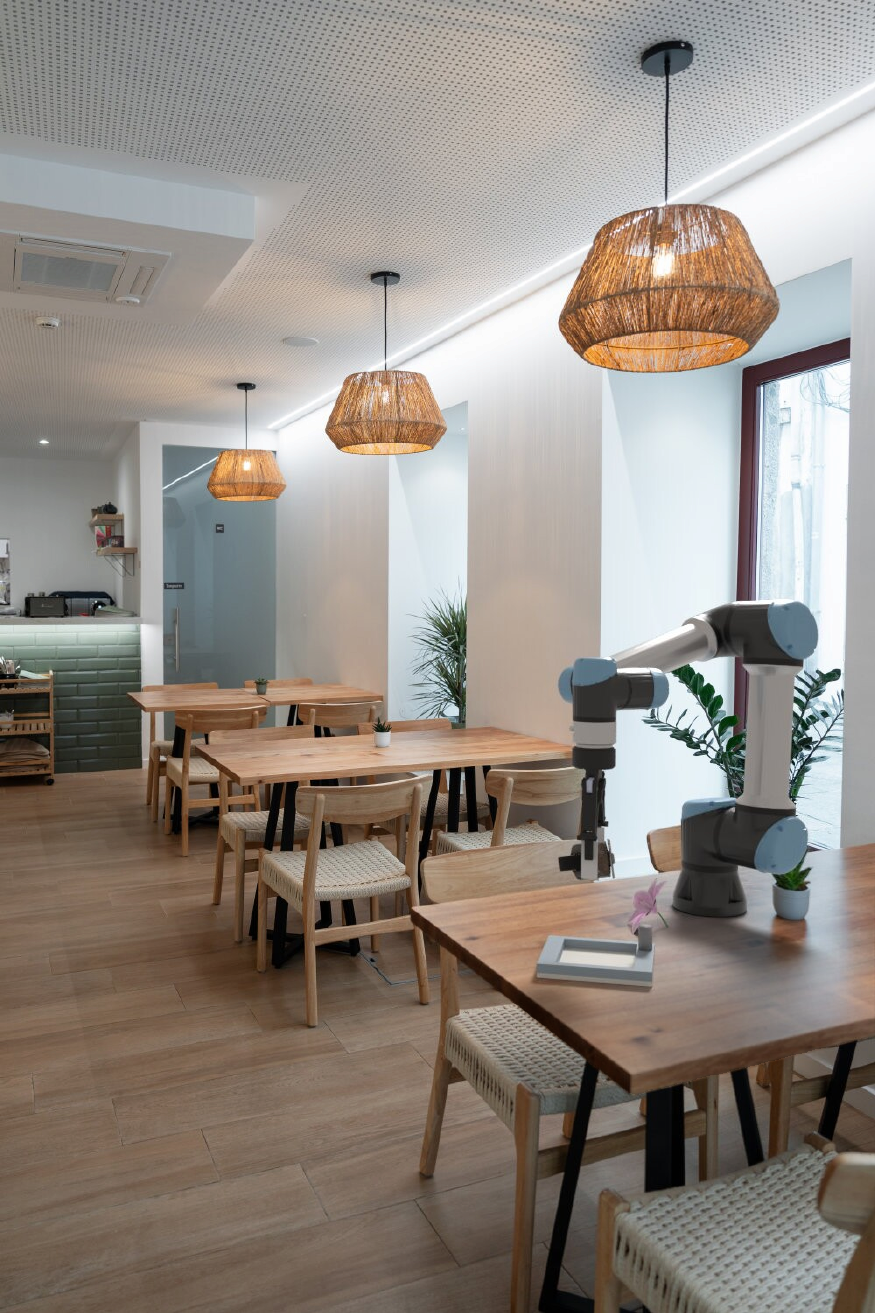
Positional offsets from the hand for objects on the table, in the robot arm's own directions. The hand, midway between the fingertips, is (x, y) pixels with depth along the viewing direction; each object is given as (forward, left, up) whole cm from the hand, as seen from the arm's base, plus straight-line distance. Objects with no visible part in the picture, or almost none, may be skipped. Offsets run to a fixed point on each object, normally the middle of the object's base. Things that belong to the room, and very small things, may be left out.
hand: (592, 870), depth 173 cm
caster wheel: (+1, 0, -1) cm, 2 cm away
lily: (-9, -24, -17) cm, 31 cm away
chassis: (-1, +1, -16) cm, 16 cm away
